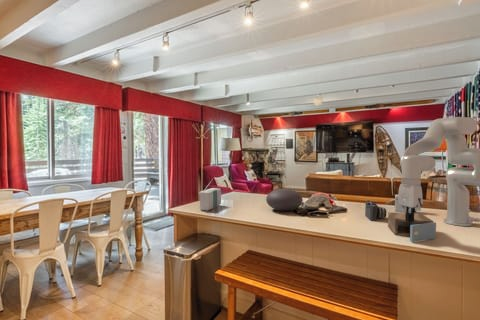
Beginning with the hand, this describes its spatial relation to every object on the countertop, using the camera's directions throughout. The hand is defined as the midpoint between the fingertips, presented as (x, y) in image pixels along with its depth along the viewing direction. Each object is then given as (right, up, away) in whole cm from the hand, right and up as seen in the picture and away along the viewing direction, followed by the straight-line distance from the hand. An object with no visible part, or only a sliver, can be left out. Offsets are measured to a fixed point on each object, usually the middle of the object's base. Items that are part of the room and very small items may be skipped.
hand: (409, 221), depth 124 cm
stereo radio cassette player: (-101, -7, +69) cm, 123 cm away
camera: (+3, -7, +37) cm, 38 cm away
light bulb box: (+31, -6, +54) cm, 62 cm away
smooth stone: (-49, -7, +60) cm, 77 cm away
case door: (+5, -8, -3) cm, 10 cm away
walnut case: (+6, -8, +10) cm, 14 cm away
